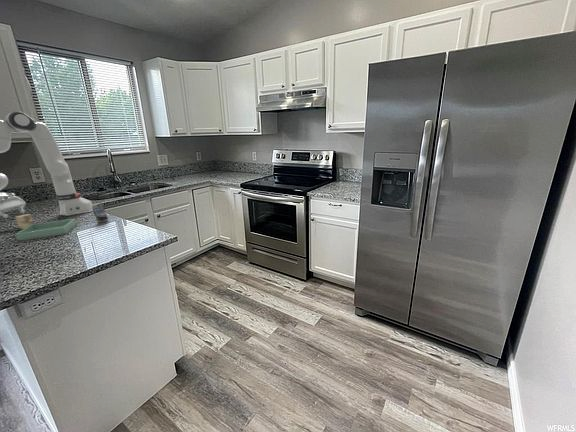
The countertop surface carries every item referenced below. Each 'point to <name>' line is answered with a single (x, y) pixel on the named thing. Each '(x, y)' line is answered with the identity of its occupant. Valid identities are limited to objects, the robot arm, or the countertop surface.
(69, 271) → the countertop surface
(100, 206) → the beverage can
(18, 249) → the countertop surface
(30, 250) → the countertop surface
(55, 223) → the tray
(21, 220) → the maple block
